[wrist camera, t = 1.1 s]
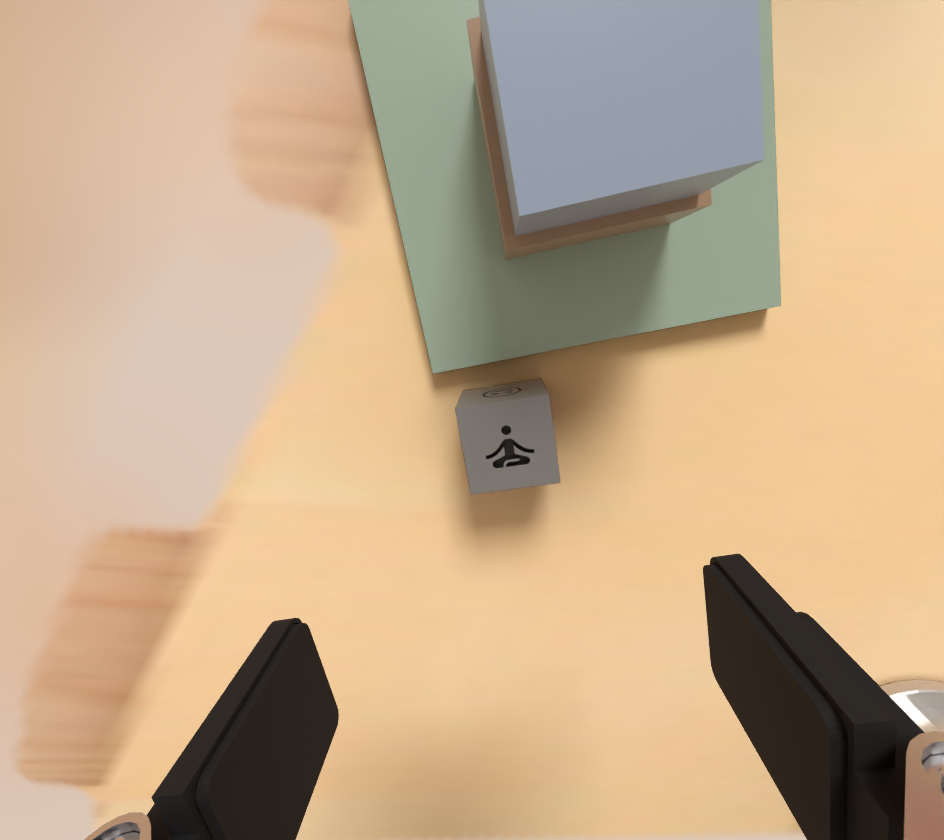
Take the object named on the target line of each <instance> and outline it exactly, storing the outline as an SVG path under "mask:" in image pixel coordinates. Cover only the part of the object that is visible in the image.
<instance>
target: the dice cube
mask: <svg viewBox="0 0 944 840" xmlns="http://www.w3.org/2000/svg"><path fill="white" fill-rule="evenodd" d="M455 411H456V416H457V422H458V427H459V433H460V438H461V443H462V449H463V454H464V460H465V465H466V471H467V476H468V482H469V487H470V493H471V494H478V493H485V492H493V491H501V490H508V489H516V488H524V487H532V486H539V485H547V484H555V483H561V482H560V475H559V467H558V459H557V451H556V444H555V436H554V428H553V420H552V412H551V405H550V397H549V393H548V391H547V389H546V387H545V385H544V383H543V381H542V379H535V380H528V381H522V382H515V383H509V384H502V385H496V386H490V387H483V388H477V389H470V390H464V391H463V392H462V394H461V396H460V398H459V401H458V403H457V405H456V408H455Z"/></svg>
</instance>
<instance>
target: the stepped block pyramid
mask: <svg viewBox="0 0 944 840" xmlns="http://www.w3.org/2000/svg"><path fill="white" fill-rule="evenodd" d="M348 2H349V6H350V11H351V15H352V19H353V24H354V28H355V33H356V37H357V41H358V46H359V50H360V55H361V59H362V63H363V68H364V72H365V77H366V81H367V86H368V90H369V94H370V99H371V103H372V108H373V112H374V116H375V121H376V125H377V130H378V134H379V138H380V143H381V147H382V152H383V156H384V160H385V165H386V169H387V174H388V178H389V183H390V187H391V191H392V196H393V200H394V205H395V209H396V213H397V218H398V222H399V227H400V231H401V235H402V240H403V244H404V249H405V253H406V257H407V262H408V266H409V271H410V275H411V279H412V284H413V288H414V293H415V297H416V302H417V306H418V310H419V315H420V319H421V324H422V328H423V332H424V337H425V341H426V346H427V350H428V354H429V359H430V363H431V368H432V372H433V374H434V373H439V372H444V371H450V370H455V369H460V368H465V367H470V366H475V365H480V364H485V363H491V362H496V361H501V360H506V359H511V358H516V357H521V356H526V355H532V354H537V353H542V352H547V351H552V350H557V349H562V348H567V347H573V346H578V345H583V344H588V343H593V342H598V341H603V340H608V339H613V338H619V337H624V336H629V335H634V334H639V333H644V332H649V331H654V330H660V329H665V328H670V327H675V326H680V325H685V324H690V323H695V322H701V321H706V320H711V319H716V318H721V317H726V316H731V315H736V314H741V313H747V312H752V311H757V310H762V309H767V308H772V307H777V306H781V286H780V257H779V228H778V198H777V169H776V139H775V110H774V80H773V51H772V21H771V0H348Z"/></svg>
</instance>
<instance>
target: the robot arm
mask: <svg viewBox="0 0 944 840" xmlns="http://www.w3.org/2000/svg"><path fill="white" fill-rule="evenodd" d="M703 576H704V588H705V600H706V612H707V623H708V635H709V647H710V659H711V666H712V670H713V673H714V676H715V678H716V681H717V683H718V684H719V686H720V688H721V690H722V691H723V693H724V695H725V697H726V698H727V700H728V702H729V704H730V705H731V707H732V709H733V711H734V712H735V714H736V716H737V718H738V719H739V721H740V723H741V725H742V726H743V728H744V730H745V732H746V733H747V735H748V737H749V739H750V740H751V742H752V744H753V746H754V747H755V749H756V751H757V753H758V754H759V756H760V758H761V760H762V761H763V763H764V765H765V767H766V768H767V770H768V772H769V774H770V775H771V777H772V779H773V781H774V782H775V784H776V786H777V788H778V789H779V791H780V793H781V795H782V796H783V798H784V800H785V802H786V803H787V805H788V807H789V809H790V810H791V812H792V814H793V816H794V817H795V819H796V821H797V823H798V824H799V826H800V828H801V830H802V831H803V833H804V835H805V837H806V838H807V840H944V682H939V681H931V680H909V681H899V682H894V683H890V684H886V685H881V686H879V685H878V684H877V683H876V682H875V681H874V680H873V679H872V678H871V677H870V676H869V675H868V674H867V673H866V672H865V671H864V670H863V669H862V668H861V667H860V666H859V665H858V664H857V663H856V662H855V661H854V660H853V659H852V658H851V657H850V656H849V655H848V654H847V653H846V652H845V651H844V650H843V649H842V648H841V646H840V645H839V644H838V643H837V642H836V641H835V640H834V639H833V638H832V637H831V636H830V635H829V634H828V633H827V632H826V631H825V630H824V629H823V628H822V627H821V626H820V625H819V624H818V623H817V622H816V621H815V620H814V619H813V618H812V617H810V616H809V615H808V614H806V613H803V612H797V613H796V612H795V611H794V610H793V609H792V608H791V607H790V606H789V605H788V604H787V602H786V601H785V600H784V599H783V598H782V597H781V596H780V595H779V594H778V593H777V592H776V591H775V590H774V589H773V588H772V587H771V586H770V585H769V583H768V582H767V581H766V580H765V579H764V578H763V577H762V576H761V575H760V574H759V573H758V572H757V571H756V570H755V569H754V568H753V567H752V565H751V564H750V563H749V562H748V561H747V560H746V559H745V558H744V557H743V556H742V555H740V554H732V555H726V556H719V557H713V558H711V561H710V565H705V566H704V567H703ZM338 716H339V714H338V708H337V705H336V702H335V699H334V696H333V694H332V691H331V688H330V685H329V682H328V680H327V677H326V674H325V671H324V668H323V666H322V663H321V660H320V657H319V654H318V651H317V649H316V646H315V643H314V640H313V637H312V635H311V632H310V629H309V627H308V625H307V624H306V623H302V622H301V620H300V619H299V618H292V619H285V620H278V621H274V622H272V623H271V624H270V626H269V627H268V628H267V630H266V631H265V633H264V634H263V636H262V637H261V639H260V640H259V642H258V643H257V644H256V646H255V647H254V649H253V650H252V652H251V653H250V655H249V656H248V658H247V659H246V661H245V662H244V663H243V665H242V666H241V668H240V669H239V671H238V672H237V674H236V675H235V677H234V678H233V679H232V681H231V682H230V684H229V685H228V687H227V688H226V690H225V691H224V693H223V694H222V695H221V697H220V698H219V700H218V701H217V703H216V704H215V706H214V707H213V709H212V710H211V712H210V713H209V714H208V716H207V717H206V719H205V720H204V722H203V723H202V725H201V726H200V728H199V729H198V730H197V732H196V733H195V735H194V736H193V738H192V739H191V741H190V742H189V744H188V745H187V746H186V748H185V749H184V751H183V752H182V754H181V755H180V757H179V758H178V760H177V761H176V763H175V764H174V765H173V767H172V768H171V770H170V771H169V773H168V774H167V776H166V777H165V779H164V780H163V781H162V783H161V784H160V786H159V787H158V789H157V790H156V792H155V793H154V795H153V796H152V799H153V801H154V803H155V804H154V805H153V807H152V808H151V810H150V811H149V813H148V814H147V816H146V815H144V814H143V813H128V814H125V815H122V816H119V817H117V818H115V819H113V820H111V821H110V822H108V823H106V824H104V825H103V826H101V827H100V828H99V829H97V830H96V831H95V832H93V833H92V834H91V835H89V836H88V837H87V838H86V839H85V840H295V839H296V837H297V834H298V831H299V828H300V826H301V823H302V820H303V818H304V815H305V812H306V809H307V807H308V804H309V801H310V799H311V796H312V793H313V791H314V788H315V785H316V782H317V780H318V777H319V774H320V772H321V769H322V766H323V763H324V761H325V758H326V755H327V753H328V750H329V747H330V744H331V742H332V739H333V736H334V734H335V731H336V728H337V725H338Z"/></svg>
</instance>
